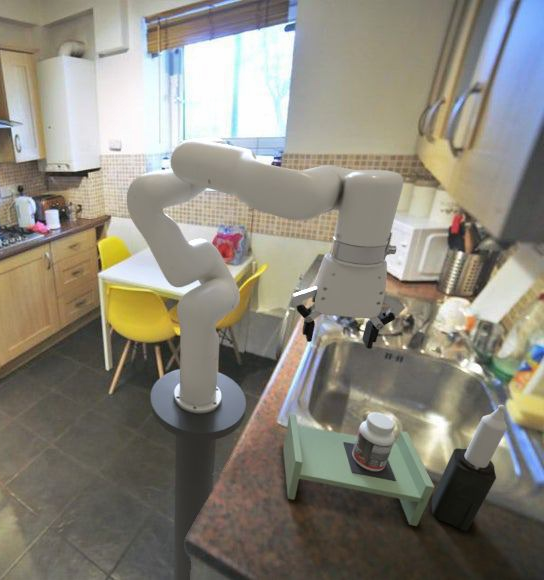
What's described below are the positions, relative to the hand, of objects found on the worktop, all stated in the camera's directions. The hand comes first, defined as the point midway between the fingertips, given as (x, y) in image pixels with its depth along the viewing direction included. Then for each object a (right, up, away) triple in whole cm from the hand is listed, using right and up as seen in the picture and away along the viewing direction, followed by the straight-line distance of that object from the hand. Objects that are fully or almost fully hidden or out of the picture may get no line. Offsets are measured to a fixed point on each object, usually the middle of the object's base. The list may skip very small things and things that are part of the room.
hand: (336, 341), depth 66 cm
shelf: (+4, -29, +5) cm, 29 cm away
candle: (+20, -31, 0) cm, 37 cm away
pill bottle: (+7, -22, +2) cm, 23 cm away
